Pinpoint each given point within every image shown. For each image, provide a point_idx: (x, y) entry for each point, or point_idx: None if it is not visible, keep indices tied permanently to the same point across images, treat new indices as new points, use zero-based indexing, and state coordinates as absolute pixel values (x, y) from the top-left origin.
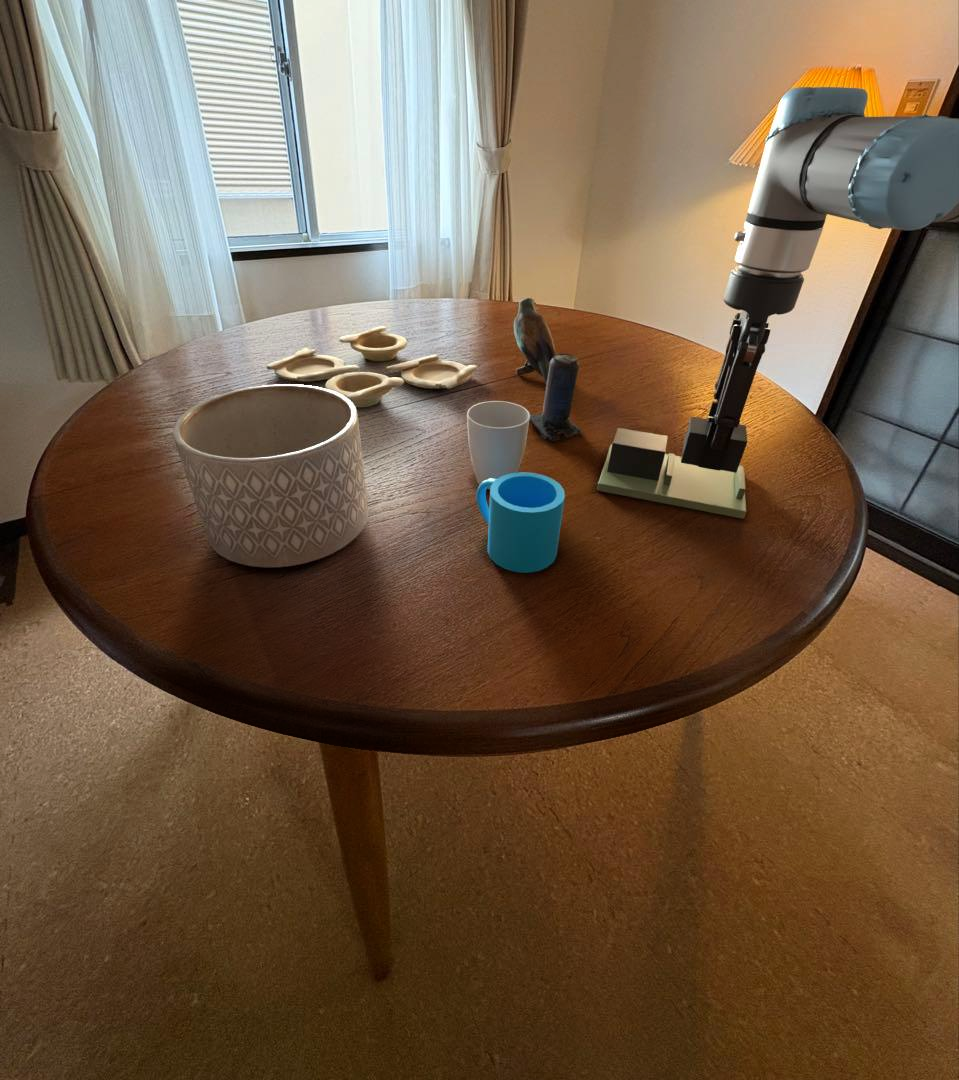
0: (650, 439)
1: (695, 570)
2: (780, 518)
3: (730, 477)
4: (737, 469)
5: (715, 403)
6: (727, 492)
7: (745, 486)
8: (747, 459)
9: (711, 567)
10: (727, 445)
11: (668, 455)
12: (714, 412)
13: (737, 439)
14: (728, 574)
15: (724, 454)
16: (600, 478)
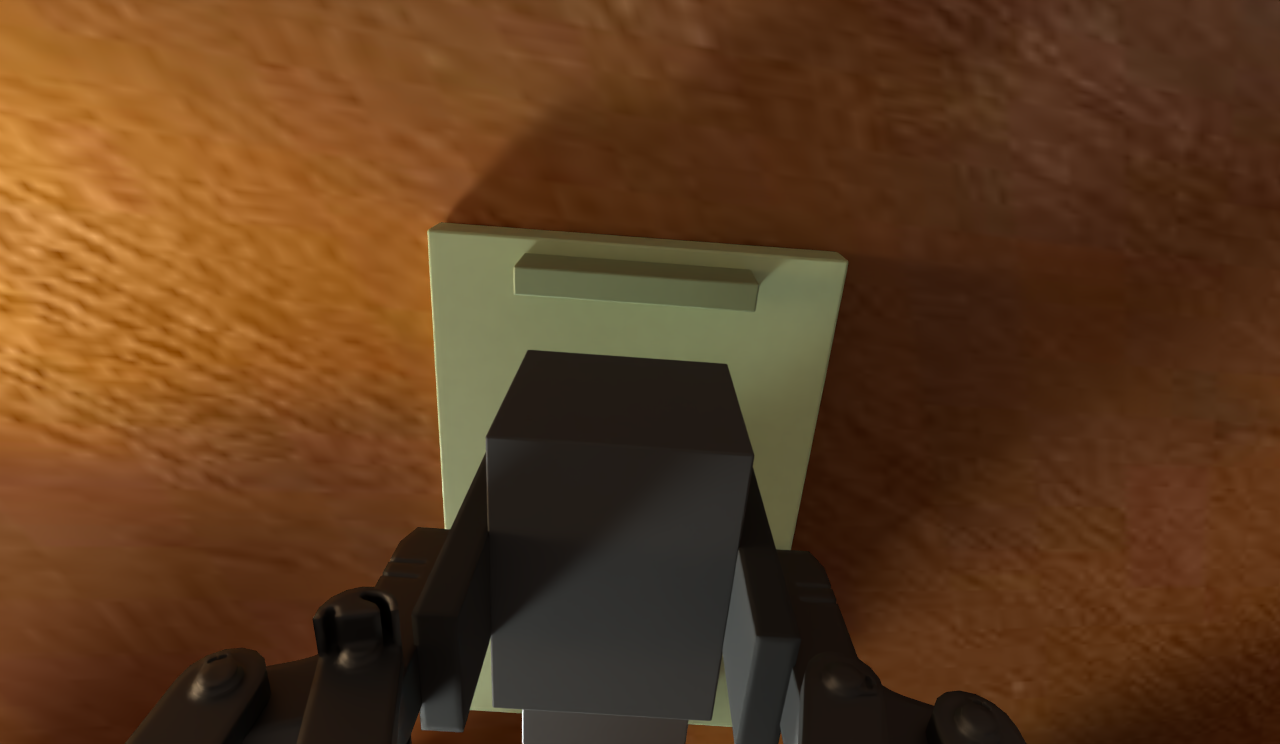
0: (590, 724)
1: (1184, 443)
2: (797, 78)
3: (558, 300)
4: (728, 370)
5: (457, 716)
6: (701, 325)
7: (728, 281)
8: (256, 167)
9: (1168, 394)
10: (768, 534)
11: None
12: (479, 655)
13: (738, 508)
14: (1211, 343)
15: (762, 501)
16: (721, 725)
